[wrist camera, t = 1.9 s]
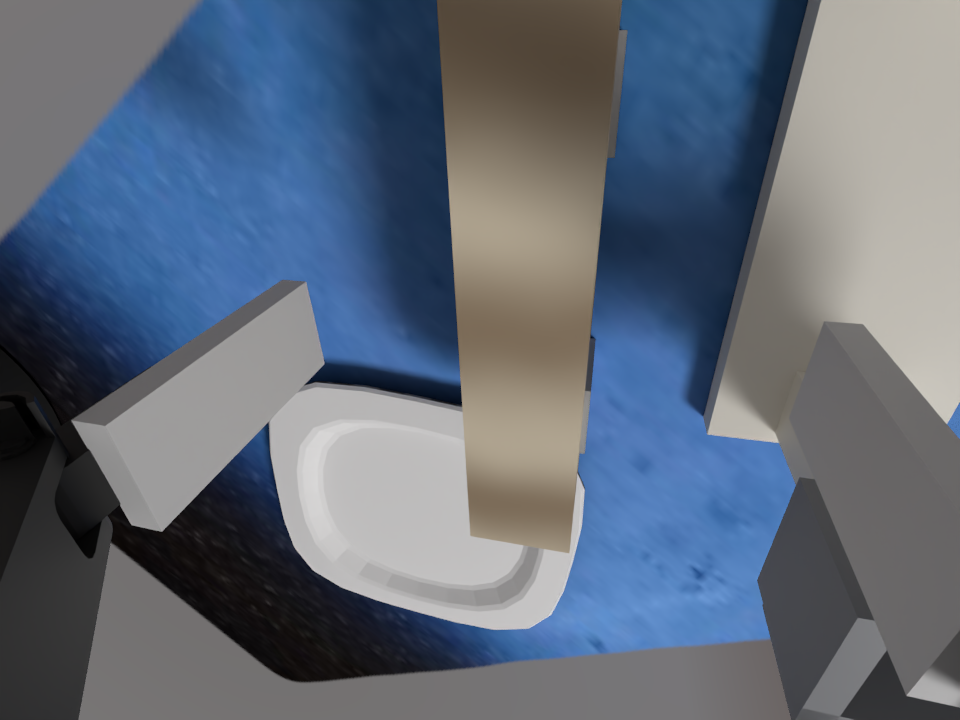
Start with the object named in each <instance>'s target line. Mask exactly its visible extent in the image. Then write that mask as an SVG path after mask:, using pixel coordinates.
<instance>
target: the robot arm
mask: <svg viewBox="0 0 960 720" xmlns="http://www.w3.org/2000/svg"><path fill="white" fill-rule="evenodd" d="M324 364H325V363H324V358H323V354H322V349H321V345H320V341H319V336H318V332H317V327H316V323H315V319H314V314H313V310H312V305H311V301H310V297H309V292H308V288H307V283H306V282H304V281H291V280H282V281H280V282H279V283H277V284H276V285H274V286H273V287H271V288H270V289H268V290H267V291H265V292H264V293H262V294H261V295H259V296H258V297H256V298H255V299H253V300H251V301H250V302H248V303H247V304H245V305H244V306H242V307H241V308H239V309H238V310H236V311H235V312H233V313H232V314H230V315H229V316H227V317H226V318H224V319H223V320H221V321H220V322H218V323H217V324H215V325H214V326H212V327H211V328H209V329H208V330H206V331H205V332H203V333H202V334H200V335H199V336H197V337H196V338H194V339H193V340H191V341H190V342H188V343H187V344H185V345H184V346H182V347H181V348H179V349H178V350H176V351H175V352H173V353H172V354H170V355H169V356H167V357H166V358H164V359H163V360H161V361H160V362H158V363H157V364H155V365H154V366H152V367H149V368H148V369H146V370H145V371H143V372H142V373H140V374H139V375H137V376H136V377H134V378H133V379H131V381H130V382H127V383H125V384H124V385H122V386H121V387H119V388H118V389H116V390H115V392H113V393H110V394H109V395H107V396H106V397H104V398H103V399H101V400H100V401H98V402H97V403H95V404H94V405H92V406H91V407H89V408H87V409H86V410H84V411H83V412H81V413H80V414H78V415H77V416H75V417H74V418H72V419H71V420H69V421H68V422H66V423H65V424H63V425H62V426H61V425H60V423H59V420H58V418H57V416H56V414H55V413H54V411H53V409H52V407H51V406H50V404H49V402H48V401H47V399H46V398H45V397H44V395H43V394H42V392H41V391H40V390H39V388H38V387H37V386H36V385H35V383H34V382H33V381H32V380H31V379H30V378H29V376H28V375H27V374H26V373H25V372H24V371H23V370H22V369H21V368H20V367H19V366H18V365H17V364H16V363H15V362H14V361H13V360H12V359H11V358H10V357H9V356H8V355H7V354H6V353H5V352H4V351H2V350H1V349H0V720H78V718H79V713H80V707H81V702H82V696H83V691H84V685H85V679H86V674H87V669H88V663H89V658H90V652H91V647H92V641H93V636H94V630H95V625H96V619H97V614H98V609H99V603H100V598H101V592H102V586H103V581H104V575H105V570H106V565H107V559H108V553H109V548H110V543H111V537H112V532H113V529H112V523H111V521H110V519H109V518H108V516H107V515H108V514H110V513H111V512H112V511H113V510H114V509H115V508H116V507H117V506H119V505H120V506H121V508H122V509H123V511H124V513H125V515H126V516H127V518H128V520H129V521H130V523H131V525H134V526H139V527H143V528H148V529H152V530H157V531H161V532H162V531H163V530H164V529H165V528H166V527H167V526H168V525H169V524H170V523H171V522H172V521H173V520H174V518H175V517H176V516H177V515H178V514H179V513H180V512H181V511H182V510H183V509H184V508H185V507H186V506H187V505H188V504H189V503H190V502H191V501H192V500H193V499H194V498H195V497H196V496H197V495H198V494H199V493H200V492H201V491H202V490H203V489H204V488H205V487H206V486H207V485H208V484H209V482H210V481H211V480H212V479H213V478H214V477H215V476H216V475H217V474H218V473H219V472H220V471H221V470H222V469H223V468H224V467H225V466H226V465H227V464H228V463H229V462H230V461H231V460H232V459H233V458H234V457H235V456H236V455H237V454H238V453H239V452H240V451H241V450H242V449H243V447H244V446H245V445H246V444H247V443H248V442H249V441H250V440H251V439H252V438H253V437H254V436H255V435H256V434H257V433H258V432H259V431H260V430H261V429H262V428H263V427H264V426H265V425H266V424H267V423H268V422H269V421H270V420H271V419H272V418H273V417H274V416H275V415H276V414H277V412H278V411H279V410H280V409H281V408H282V407H283V406H284V405H285V404H286V403H287V402H288V401H289V400H290V399H291V398H292V397H293V396H294V395H295V394H296V393H297V392H298V391H299V390H300V389H301V388H302V387H303V386H304V385H305V384H306V383H307V382H308V381H309V380H310V379H311V378H312V376H313V375H314V374H315V373H316V372H317V371H318V370H319V369H320V368H321V367H322V366H323V365H324ZM789 420H790V422H791V425H792V427H793V429H794V432H795V434H796V436H797V439H798V441H799V443H800V446H801V448H802V450H803V453H804V455H805V458H806V460H807V462H808V465H809V467H810V469H811V472H812V474H813V476H814V479H815V481H816V484H817V486H818V488H819V491H820V493H821V495H822V498H823V500H824V502H825V505H826V507H827V510H828V512H829V514H830V517H831V519H832V521H833V524H834V526H835V528H836V531H837V533H838V536H839V538H840V540H841V543H842V545H843V547H844V550H845V552H846V554H847V557H848V559H849V561H850V564H851V566H852V569H853V571H854V573H855V576H856V578H857V580H858V583H859V585H860V587H861V590H862V592H863V595H864V597H865V599H866V602H867V604H868V606H869V609H870V611H871V613H872V616H873V618H874V621H875V623H876V625H877V628H878V630H879V632H880V635H881V637H882V639H883V642H884V644H885V647H886V649H887V651H888V654H889V656H890V658H891V661H892V663H893V665H894V668H895V670H896V672H897V675H898V677H899V680H900V682H901V684H902V687H903V689H904V691H905V694H906V696H910V697H914V698H919V699H923V700H928V701H932V702H937V703H941V704H946V705H950V706H955V707H959V708H960V440H959V438H958V437H957V436H956V435H955V434H954V432H953V431H952V430H951V429H950V428H949V426H948V425H947V424H946V423H945V422H944V420H943V419H942V418H941V417H940V416H939V414H938V413H937V412H936V411H935V410H934V408H933V407H932V406H931V405H930V404H929V403H928V401H927V400H926V399H925V398H924V397H923V395H922V394H921V393H920V392H919V391H918V389H917V388H916V387H915V386H914V385H913V383H912V382H911V381H910V380H909V379H908V377H907V376H906V375H905V374H904V373H903V371H902V370H901V369H900V368H899V367H898V365H897V364H896V363H895V362H894V361H893V359H892V358H891V357H890V356H889V355H888V353H887V352H886V351H885V350H884V349H883V347H882V346H881V345H880V344H879V343H878V341H877V340H876V339H875V338H874V337H873V336H872V334H871V333H870V332H869V331H868V330H867V328H866V327H865V326H864V325H863V324H855V323H842V322H828V321H824V323H823V326H822V328H821V331H820V334H819V337H818V339H817V342H816V345H815V348H814V350H813V353H812V356H811V359H810V361H809V364H808V367H807V370H806V372H805V375H804V378H803V381H802V383H801V386H800V389H799V392H798V394H797V397H796V400H795V403H794V405H793V408H792V411H791V414H790V416H789Z"/></svg>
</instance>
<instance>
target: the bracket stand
mask: <svg viewBox="0 0 960 720" xmlns="http://www.w3.org/2000/svg"><path fill="white" fill-rule="evenodd" d="M824 321H828V322H842V323H855V324H863V325H864V326H865V327H866V328H867V330H868V331H869V332H870V333H871V334H872V336H873V337H874V338H875V339H876V340H877V341H878V343H879V344H880V345H881V346H882V347H883V349H884V350H885V351H886V352H887V353H888V355H889V356H890V357H891V358H892V359H893V361H894V362H895V363H896V364H897V365H898V367H899V368H900V369H901V370H902V371H903V373H904V374H905V375H906V376H907V377H908V379H909V380H910V381H911V382H912V383H913V385H914V386H915V387H916V388H917V389H918V391H919V392H920V393H921V394H922V395H923V397H924V398H925V399H926V400H927V401H928V403H929V404H930V405H931V406H932V407H933V408H934V410H935V411H936V412H937V413H938V414H939V416H940V417H941V418H942V419H943V420H944V422H945V423H946V424H947V423H948V421H949V420H950V418H951V416H952V414H953V413H954V411H955V409H956V408H957V406H958V404H959V402H960V0H808V4H807V8H806V12H805V16H804V20H803V24H802V28H801V32H800V36H799V40H798V44H797V48H796V52H795V56H794V60H793V64H792V68H791V72H790V75H789V79H788V83H787V87H786V91H785V95H784V99H783V103H782V107H781V111H780V115H779V119H778V123H777V127H776V131H775V135H774V139H773V143H772V147H771V151H770V155H769V159H768V163H767V167H766V171H765V175H764V179H763V183H762V187H761V191H760V195H759V199H758V203H757V206H756V210H755V214H754V218H753V222H752V226H751V230H750V234H749V238H748V242H747V246H746V250H745V254H744V258H743V262H742V266H741V270H740V274H739V278H738V282H737V286H736V290H735V294H734V298H733V302H732V306H731V310H730V314H729V318H728V322H727V326H726V330H725V334H724V337H723V341H722V345H721V349H720V353H719V357H718V361H717V365H716V369H715V373H714V377H713V381H712V385H711V389H710V393H709V397H708V401H707V405H706V409H705V413H704V417H703V418H704V422H705V427H706V431H707V434H708V435H716V436H724V437H733V438H741V439H750V440H758V441H767V442H775V443H779V444H780V446H781V449H782V451H783V454H784V456H785V459H786V461H787V464H788V466H789V469H790V471H791V474H792V476H793V479H794V481H795V484H796V487H795V489H794V492H793V494H792V497H791V499H790V502H789V504H788V507H787V509H786V511H785V514H784V516H783V519H782V521H781V524H780V526H779V529H778V531H777V533H776V536H775V538H774V541H773V543H772V546H771V548H770V550H769V553H768V555H767V558H766V560H765V563H764V565H763V568H762V570H761V572H760V575H759V577H758V580H757V581H758V585H759V589H760V593H761V597H762V600H763V605H762V606H763V610H764V614H765V618H766V622H767V626H768V630H769V634H770V637H771V641H772V645H773V649H774V653H775V657H776V661H777V665H778V669H779V673H780V677H781V681H782V684H783V689H784V692H785V697H786V701H787V704H788V708H789V712H790V716H791V720H960V708H959V707H955V706H950V705H946V704H941V703H937V702H932V701H928V700H923V699H919V698H914V697H910V696H906V694H905V691H904V689H903V687H902V684H901V682H900V680H899V677H898V675H897V672H896V670H895V668H894V665H893V663H892V661H891V658H890V656H889V654H888V651H887V649H886V647H885V644H884V642H883V639H882V637H881V635H880V632H879V630H878V628H877V625H876V623H875V621H874V618H873V616H872V613H871V611H870V609H869V606H868V604H867V602H866V599H865V597H864V595H863V592H862V590H861V587H860V585H859V583H858V580H857V578H856V576H855V573H854V571H853V569H852V566H851V564H850V561H849V559H848V557H847V554H846V552H845V550H844V547H843V545H842V543H841V540H840V538H839V536H838V533H837V531H836V528H835V526H834V524H833V521H832V519H831V517H830V514H829V512H828V510H827V507H826V505H825V502H824V500H823V498H822V495H821V493H820V491H819V488H818V486H817V484H816V481H815V479H814V476H813V474H812V472H811V469H810V467H809V465H808V462H807V460H806V458H805V455H804V453H803V450H802V448H801V446H800V443H799V441H798V439H797V436H796V434H795V432H794V429H793V427H792V425H791V422H790V420H789V416H790V414H791V411H792V408H793V405H794V403H795V400H796V397H797V394H798V392H799V389H800V386H801V383H802V381H803V378H804V375H805V372H806V370H807V367H808V364H809V361H810V359H811V356H812V353H813V350H814V348H815V345H816V342H817V339H818V337H819V334H820V331H821V328H822V326H823V323H824Z"/></svg>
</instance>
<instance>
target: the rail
mask: <svg viewBox="0 0 960 720" xmlns="http://www.w3.org/2000/svg"><path fill="white" fill-rule="evenodd" d="M621 5H622V0H437V11H438V27H439V43H440V59H441V75H442V91H443V107H444V123H445V138H446V154H447V170H448V186H449V202H450V218H451V234H452V250H453V266H454V282H455V298H456V314H457V330H458V346H459V362H460V378H461V394H462V410H463V426H464V442H465V458H466V474H467V490H468V506H469V522H470V536H473V537H478V538H484V539H490V540H496V541H501V542H507V543H513V544H518V545H524V546H530V547H536V548H541V549H547V550H553V551H558V552H564V553H569V552H570V542H571V532H572V523H573V513H574V503H575V493H576V483H577V473H578V462H579V452H580V441H581V431H582V420H583V409H584V399H585V388H586V377H587V367H588V356H589V345H590V335H591V324H592V314H593V303H594V292H595V282H596V271H597V260H598V250H599V239H600V229H601V218H602V207H603V197H604V186H605V175H606V165H607V154H608V144H609V133H610V122H611V112H612V101H613V90H614V80H615V69H616V59H617V48H618V37H619V27H620V16H621Z"/></svg>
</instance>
